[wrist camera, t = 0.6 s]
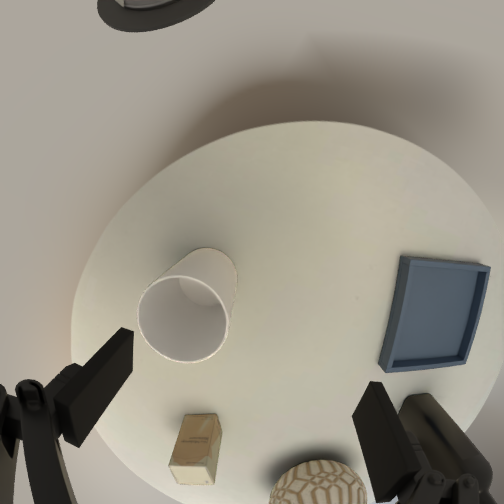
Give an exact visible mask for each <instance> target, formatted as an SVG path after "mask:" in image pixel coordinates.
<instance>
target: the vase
mask: <svg viewBox="0 0 504 504" xmlns="http://www.w3.org/2000/svg"><path fill="white" fill-rule="evenodd" d="M269 504H367V492H366V488H365V486H364V483H363V482H362V480H361V478H360V477H359V476H358V474H357V473H355V472H354V471H353V470H352V469H351V468H349V467H348V466H346V465H344V464H342V463H340V462H336V461H331V460H313V461H308V462H304V463H302V464H299V465H297V466H295V467H293V468H291V469H290V470H288V471H287V472H286V473H284V474H283V475H282V476H281V477H280V478H279V480H278V481H277V482H276V484H275V486H274V487H273V489H272V492H271V494H270V499H269Z"/></svg>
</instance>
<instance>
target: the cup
mask: <svg viewBox="0 0 504 504" xmlns="http://www.w3.org/2000/svg"><path fill="white" fill-rule="evenodd" d="M237 280H238V279H237V271H236V268H235V266H234V264H233V262H232V261H231V260H230V258H229V257H228V256H226V255H225V254H224V253H222V252H220V251H218V250H215V249H211V248H201V249H197V250H195V251H192V252H191V253H189V254H188V255H187V256H185V257H184V258H183V259H181V260H180V261H179V262H178V263H176V264H175V265H174V266H172V267H171V268H170V269H169V270H167V271H166V272H165V273H164V274H162V275H161V276H160V277H159V278H157V279H156V280H155V281H154V282H152V283H151V284H150V285H149V286H148V287H147V288H146V289H145V291H144V292H143V294H142V296H141V297H140V300H139V303H138V307H137V322H138V327H139V329H140V332H141V334H142V336H143V338H144V339H145V341H146V342H147V344H148V345H149V346H150V347H151V348H152V349H153V350H154V351H155V352H157V353H158V354H159V355H161V356H163V357H165V358H167V359H169V360H172V361H175V362H179V363H196V362H200V361H203V360H206V359H208V358H210V357H211V356H213V355H214V354H215V353H217V352H218V351H219V349H220V348H221V347H222V345H223V344H224V342H225V340H226V338H227V335H228V332H229V327H230V321H231V315H232V310H233V304H234V298H235V293H236V287H237Z"/></svg>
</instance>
